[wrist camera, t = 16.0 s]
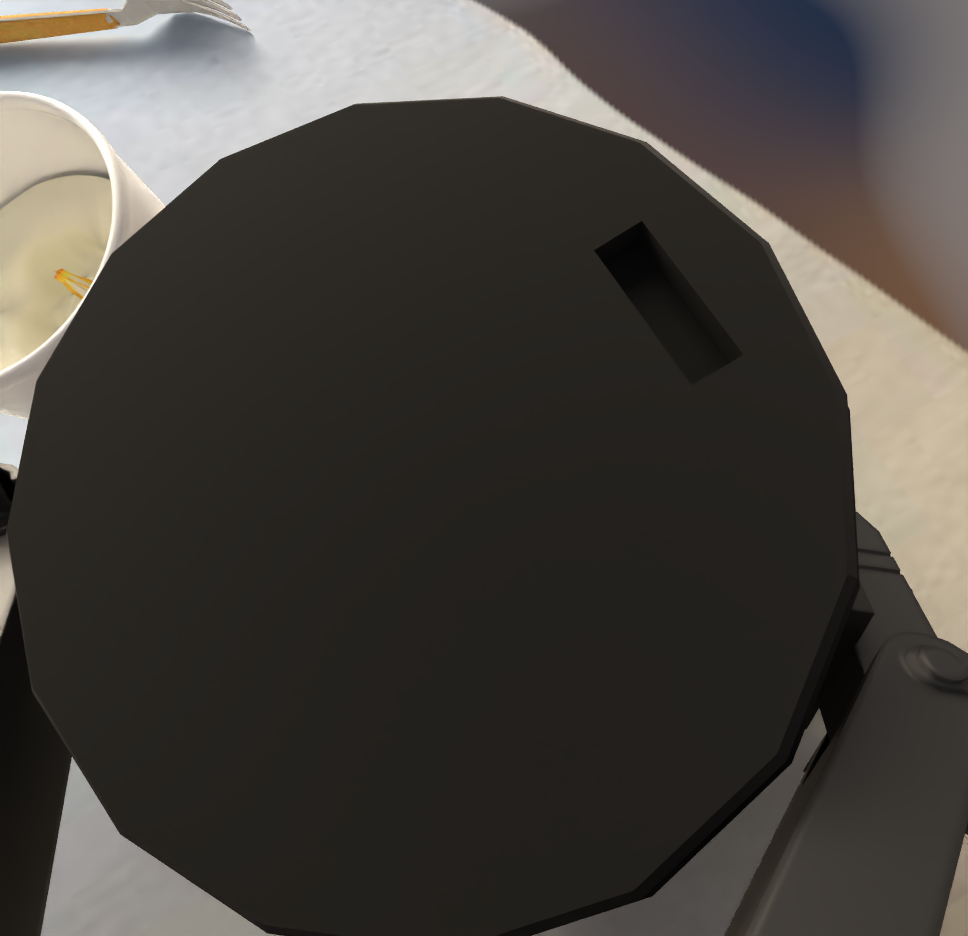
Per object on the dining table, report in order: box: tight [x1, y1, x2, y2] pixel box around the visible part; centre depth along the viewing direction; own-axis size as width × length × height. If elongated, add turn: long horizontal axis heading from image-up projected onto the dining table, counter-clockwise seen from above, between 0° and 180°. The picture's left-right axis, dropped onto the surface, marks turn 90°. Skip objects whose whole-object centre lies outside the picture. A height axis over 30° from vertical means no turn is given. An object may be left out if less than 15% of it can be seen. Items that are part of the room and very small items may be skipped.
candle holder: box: [0, 91, 166, 420], centre depth 23 cm, size 10×10×12 cm
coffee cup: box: [6, 96, 860, 936], centre depth 13 cm, size 11×11×12 cm
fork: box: [0, 0, 249, 43], centre depth 33 cm, size 2×2×20 cm
